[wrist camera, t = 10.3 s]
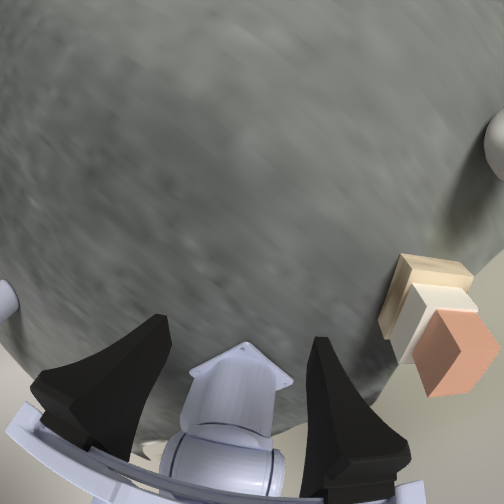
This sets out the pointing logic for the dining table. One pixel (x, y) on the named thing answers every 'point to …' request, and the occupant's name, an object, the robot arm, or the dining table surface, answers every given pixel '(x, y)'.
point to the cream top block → (424, 315)
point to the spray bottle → (7, 301)
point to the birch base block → (419, 273)
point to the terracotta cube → (454, 352)
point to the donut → (495, 144)
